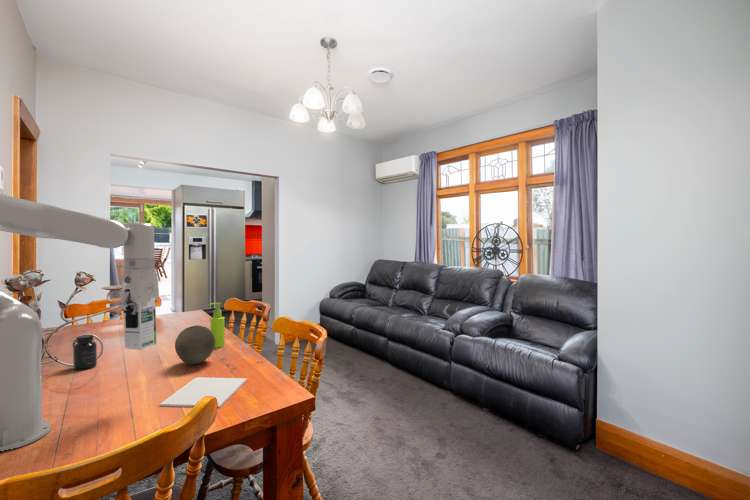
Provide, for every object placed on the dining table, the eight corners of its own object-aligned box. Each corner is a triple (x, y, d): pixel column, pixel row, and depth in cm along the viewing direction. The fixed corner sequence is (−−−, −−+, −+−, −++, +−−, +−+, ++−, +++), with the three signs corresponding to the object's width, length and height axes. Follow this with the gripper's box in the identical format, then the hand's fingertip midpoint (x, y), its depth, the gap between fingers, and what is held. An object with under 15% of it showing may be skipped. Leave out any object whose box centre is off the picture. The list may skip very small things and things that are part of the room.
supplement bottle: (69, 368, 130) (69, 336, 130) (91, 363, 136) (91, 332, 136) (78, 372, 127) (78, 339, 127) (100, 366, 133) (100, 335, 133)
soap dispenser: (208, 345, 161) (208, 302, 160) (224, 343, 164) (224, 301, 163) (207, 349, 155) (207, 304, 155) (224, 347, 158) (224, 303, 158)
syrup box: (140, 350, 100) (140, 300, 100) (123, 348, 101) (122, 299, 101) (156, 344, 106) (156, 296, 105) (140, 343, 107) (139, 296, 107)
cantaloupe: (171, 363, 137) (171, 325, 137) (209, 355, 146) (209, 320, 146) (178, 374, 127) (178, 333, 126) (219, 365, 136) (219, 327, 135)
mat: (220, 407, 102) (220, 405, 102) (159, 405, 102) (159, 403, 102) (247, 380, 122) (247, 378, 122) (196, 378, 122) (196, 377, 122)
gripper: (131, 267, 94) (131, 332, 95) (169, 262, 111) (170, 318, 112) (103, 266, 94) (104, 332, 95) (146, 262, 112) (147, 318, 112)
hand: (140, 324), depth 103 cm, fingers closed on syrup box, 6 cm apart
